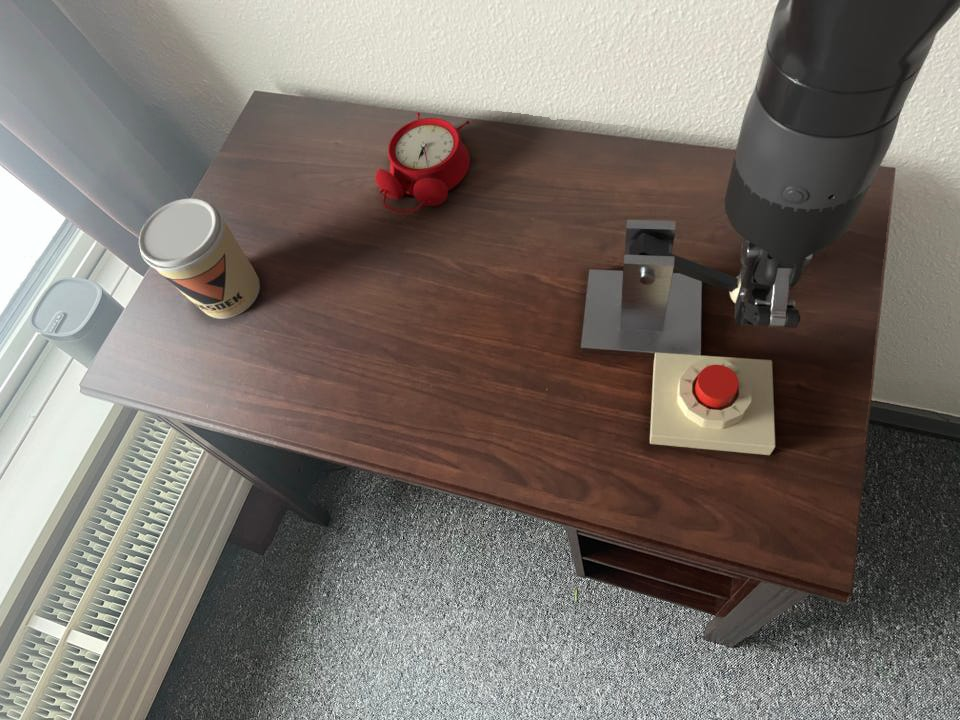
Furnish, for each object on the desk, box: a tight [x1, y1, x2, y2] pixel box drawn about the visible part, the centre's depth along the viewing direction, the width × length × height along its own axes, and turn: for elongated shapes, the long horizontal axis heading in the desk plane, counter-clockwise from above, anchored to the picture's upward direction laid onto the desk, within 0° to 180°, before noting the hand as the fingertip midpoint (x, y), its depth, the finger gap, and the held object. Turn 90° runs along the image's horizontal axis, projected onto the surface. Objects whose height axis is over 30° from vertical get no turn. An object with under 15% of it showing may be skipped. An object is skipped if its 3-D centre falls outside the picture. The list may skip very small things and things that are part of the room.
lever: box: [629, 233, 741, 304], centre depth 64 cm, size 14×3×3 cm, turn 81°
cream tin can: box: [138, 197, 261, 320], centre depth 77 cm, size 9×9×12 cm
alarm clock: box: [374, 112, 471, 214], centre depth 85 cm, size 10×6×15 cm
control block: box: [649, 352, 776, 456], centre depth 65 cm, size 11×9×4 cm
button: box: [695, 365, 739, 408], centre depth 63 cm, size 4×4×2 cm
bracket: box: [580, 219, 703, 359], centre depth 67 cm, size 12×10×13 cm
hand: (748, 316), depth 53 cm, fingers closed
